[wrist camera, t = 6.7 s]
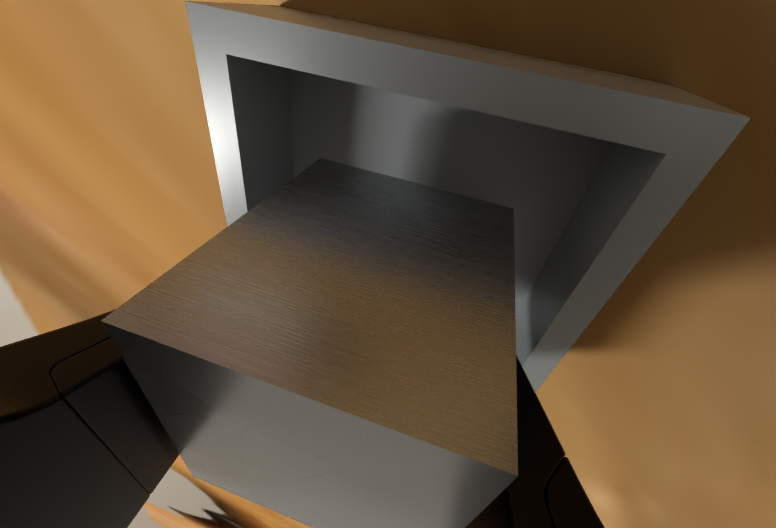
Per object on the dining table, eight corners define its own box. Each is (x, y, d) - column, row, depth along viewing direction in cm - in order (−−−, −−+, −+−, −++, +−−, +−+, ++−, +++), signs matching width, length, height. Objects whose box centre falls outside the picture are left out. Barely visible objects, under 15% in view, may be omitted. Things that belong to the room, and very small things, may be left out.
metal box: (513, 208, 8) (517, 475, 3) (456, 340, 11) (418, 572, 6) (320, 157, 9) (100, 320, 4) (318, 295, 12) (193, 475, 7)
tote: (670, 84, 8) (751, 118, 5) (509, 350, 15) (509, 424, 12) (277, 5, 10) (185, 0, 7) (291, 279, 16) (246, 332, 13)
